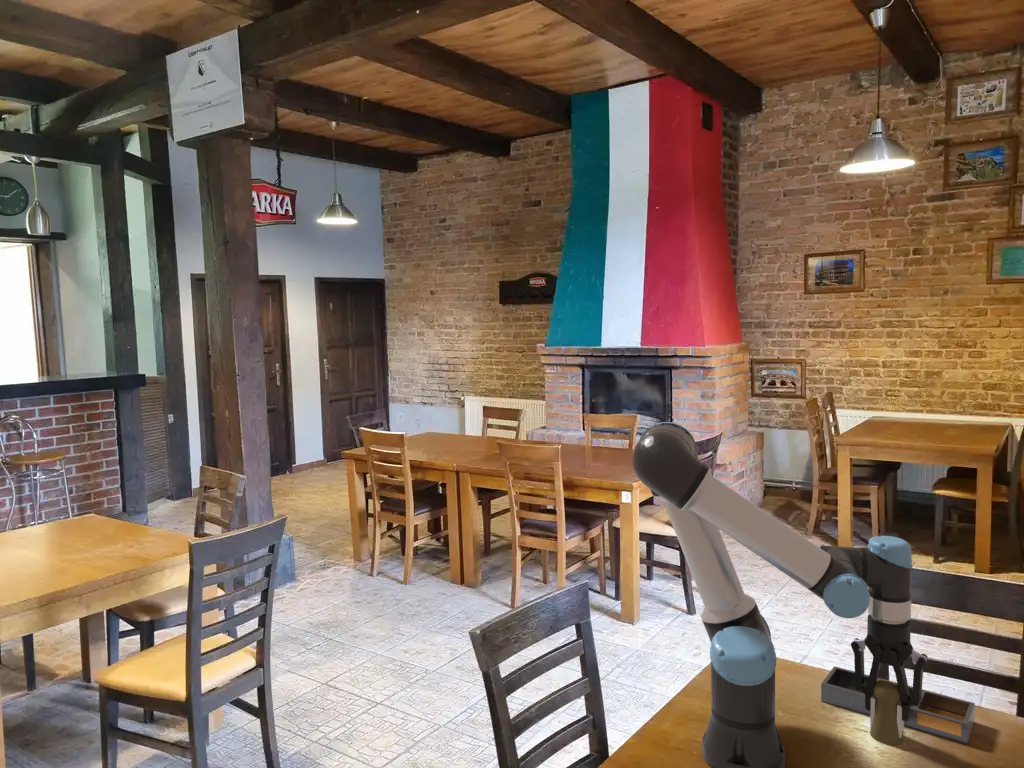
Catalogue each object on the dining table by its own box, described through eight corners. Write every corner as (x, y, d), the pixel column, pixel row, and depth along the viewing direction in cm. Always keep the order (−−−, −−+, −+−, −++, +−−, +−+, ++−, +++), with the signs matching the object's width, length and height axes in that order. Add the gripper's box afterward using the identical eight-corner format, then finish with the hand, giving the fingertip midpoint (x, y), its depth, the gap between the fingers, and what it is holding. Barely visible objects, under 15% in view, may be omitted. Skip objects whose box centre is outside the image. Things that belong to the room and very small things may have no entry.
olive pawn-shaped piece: (908, 746, 143) (909, 692, 142) (874, 743, 144) (875, 689, 143) (898, 729, 149) (899, 676, 148) (866, 726, 150) (867, 674, 149)
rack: (974, 721, 150) (974, 703, 150) (966, 744, 143) (967, 724, 143) (834, 683, 168) (834, 666, 167) (820, 701, 160) (821, 683, 160)
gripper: (942, 620, 142) (939, 736, 144) (847, 600, 152) (846, 708, 155) (935, 634, 136) (932, 754, 138) (837, 613, 147) (836, 724, 149)
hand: (887, 730), depth 146 cm, fingers closed on olive pawn-shaped piece, 4 cm apart
